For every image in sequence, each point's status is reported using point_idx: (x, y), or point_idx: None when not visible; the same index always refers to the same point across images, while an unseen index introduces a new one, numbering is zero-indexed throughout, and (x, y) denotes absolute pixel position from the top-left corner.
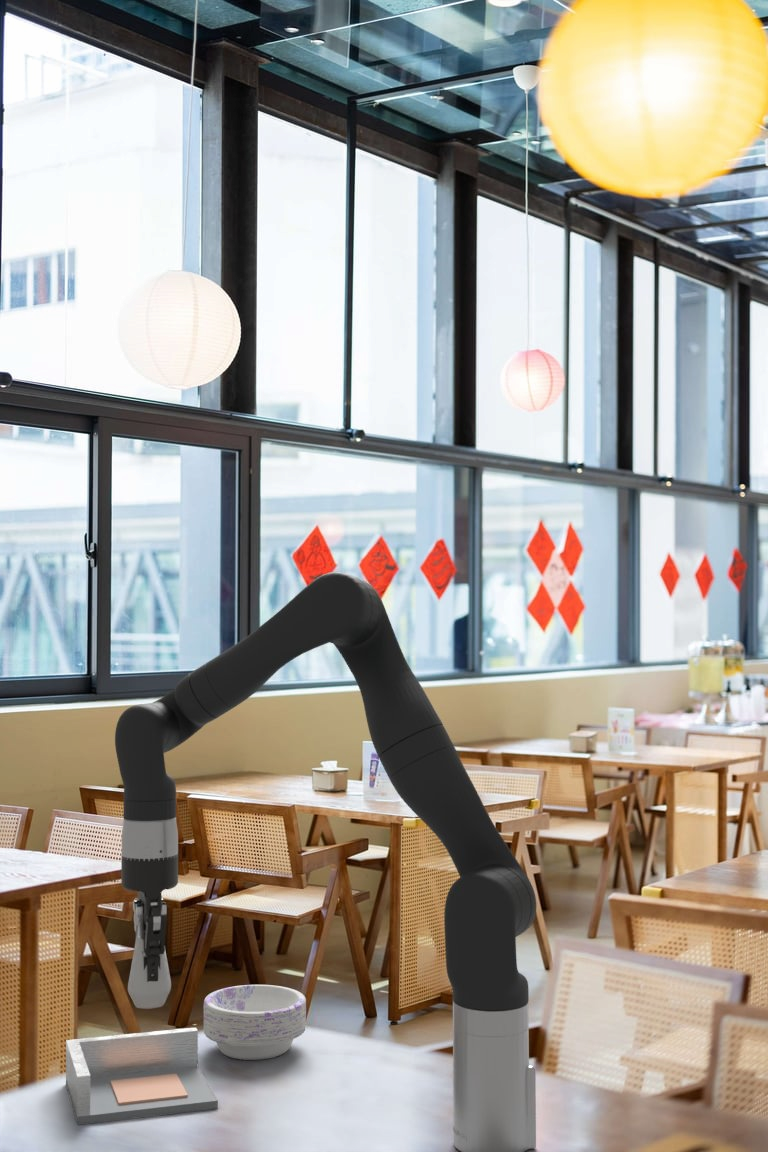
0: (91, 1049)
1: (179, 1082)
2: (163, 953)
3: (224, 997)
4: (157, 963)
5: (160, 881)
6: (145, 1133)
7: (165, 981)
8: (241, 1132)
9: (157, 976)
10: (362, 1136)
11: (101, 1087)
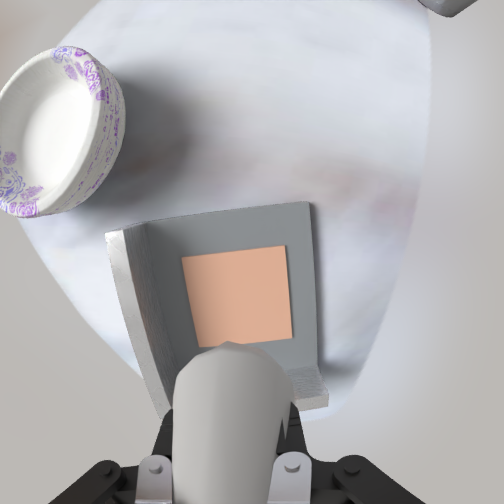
0: (168, 387)
1: (223, 255)
2: (360, 456)
3: (2, 183)
4: (304, 442)
5: None
6: (366, 299)
7: (277, 380)
8: (393, 183)
9: (298, 412)
10: (417, 62)
11: None
